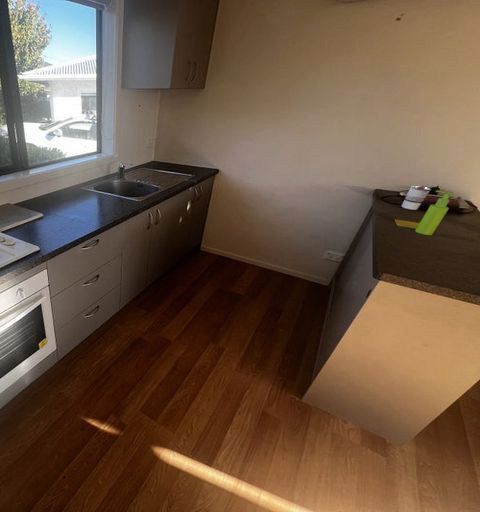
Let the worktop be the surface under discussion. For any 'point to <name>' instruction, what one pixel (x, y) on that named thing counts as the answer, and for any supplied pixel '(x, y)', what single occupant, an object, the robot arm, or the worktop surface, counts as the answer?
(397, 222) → the cloth
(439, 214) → the soap dispenser
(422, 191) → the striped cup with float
